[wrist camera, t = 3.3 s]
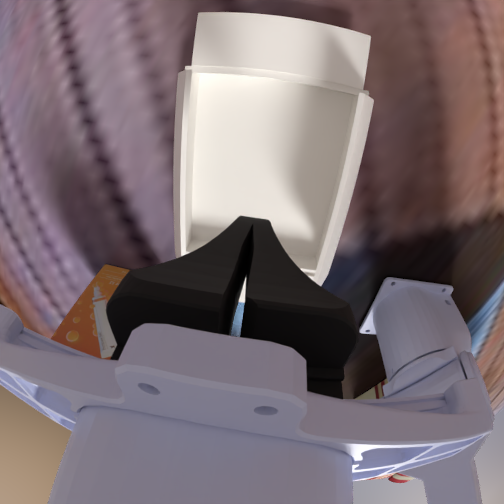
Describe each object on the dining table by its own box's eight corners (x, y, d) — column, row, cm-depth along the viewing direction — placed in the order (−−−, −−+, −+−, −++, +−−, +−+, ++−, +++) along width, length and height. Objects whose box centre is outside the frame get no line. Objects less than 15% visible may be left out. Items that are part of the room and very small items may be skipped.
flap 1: (193, 69, 11) (186, 69, 11) (188, 287, 19) (182, 287, 19) (184, 72, 15) (178, 72, 15) (179, 251, 23) (175, 251, 22)
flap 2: (369, 98, 15) (374, 100, 15) (324, 273, 22) (327, 274, 22) (359, 92, 11) (364, 94, 11) (304, 304, 19) (308, 306, 19)
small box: (170, 275, 27) (120, 385, 17) (173, 317, 31) (137, 416, 20) (103, 261, 27) (40, 351, 17) (113, 302, 31) (66, 388, 20)
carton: (367, 43, 14) (378, 38, 12) (309, 293, 27) (310, 311, 25) (200, 20, 14) (190, 12, 12) (188, 275, 27) (181, 292, 25)
